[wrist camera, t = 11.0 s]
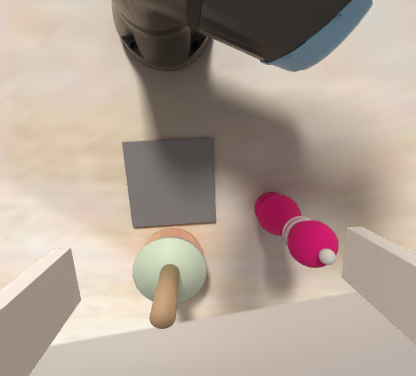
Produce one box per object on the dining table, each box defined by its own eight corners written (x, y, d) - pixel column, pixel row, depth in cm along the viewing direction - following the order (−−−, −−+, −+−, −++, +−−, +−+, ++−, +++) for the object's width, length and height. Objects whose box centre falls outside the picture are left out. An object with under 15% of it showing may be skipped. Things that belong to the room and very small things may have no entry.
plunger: (129, 239, 38) (105, 278, 27) (204, 234, 39) (209, 270, 28) (137, 304, 41) (118, 362, 30) (207, 298, 42) (213, 353, 31)
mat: (123, 142, 39) (122, 142, 39) (212, 138, 40) (212, 138, 40) (133, 226, 43) (132, 227, 42) (215, 220, 44) (215, 221, 43)
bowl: (139, 230, 43) (132, 242, 38) (200, 226, 44) (201, 237, 39) (145, 284, 46) (140, 301, 41) (203, 279, 46) (205, 296, 42)
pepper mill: (246, 218, 44) (290, 279, 25) (260, 184, 43) (317, 221, 23) (278, 228, 45) (344, 295, 26) (293, 196, 44) (374, 241, 24)
